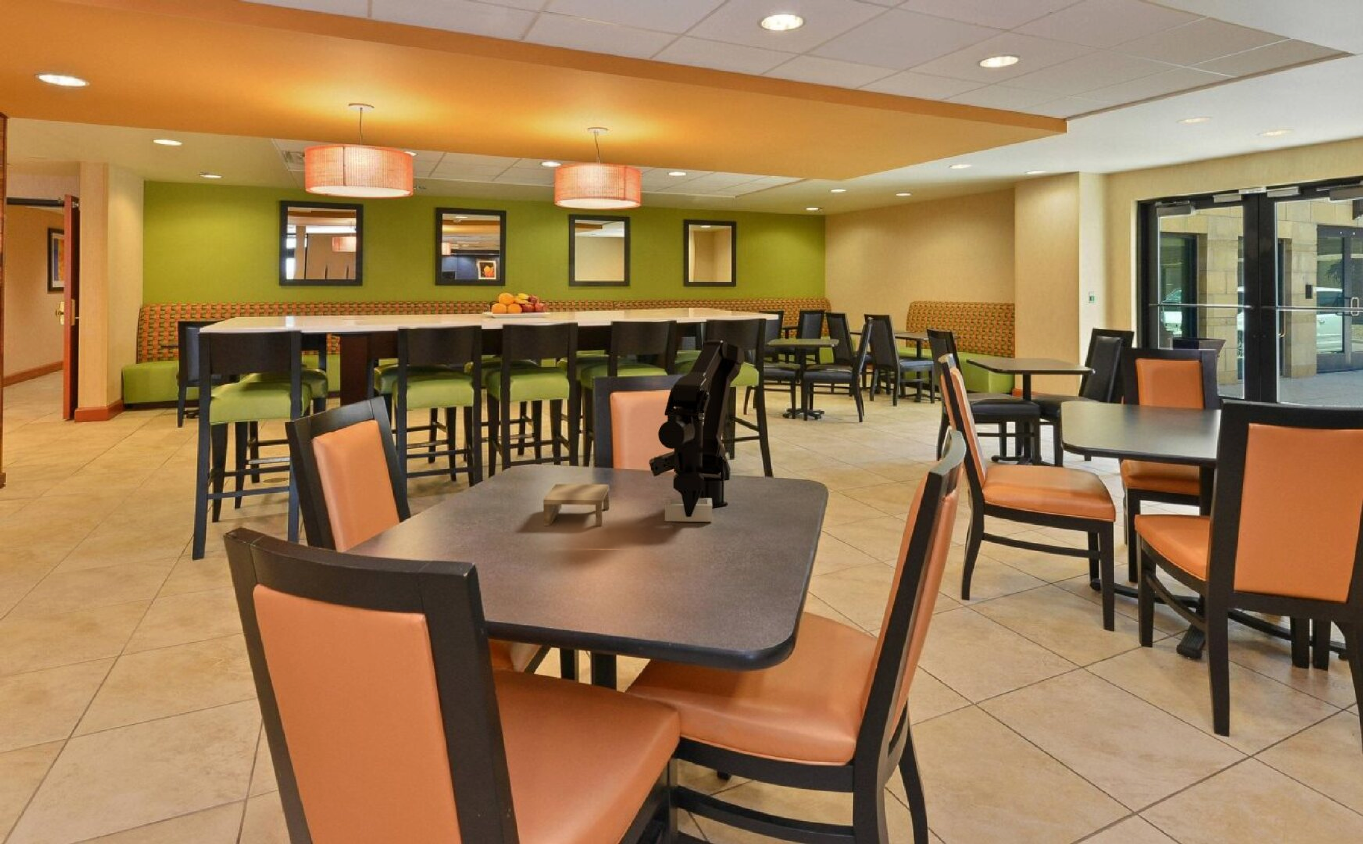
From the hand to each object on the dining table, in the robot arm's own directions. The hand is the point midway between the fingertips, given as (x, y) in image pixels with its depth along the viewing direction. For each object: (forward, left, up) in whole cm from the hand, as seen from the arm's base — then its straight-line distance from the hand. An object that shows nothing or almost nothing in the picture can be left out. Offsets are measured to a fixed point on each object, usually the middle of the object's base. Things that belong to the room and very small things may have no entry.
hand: (688, 512), depth 167 cm
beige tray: (0, 0, -1) cm, 1 cm away
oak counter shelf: (+20, -14, -1) cm, 24 cm away
